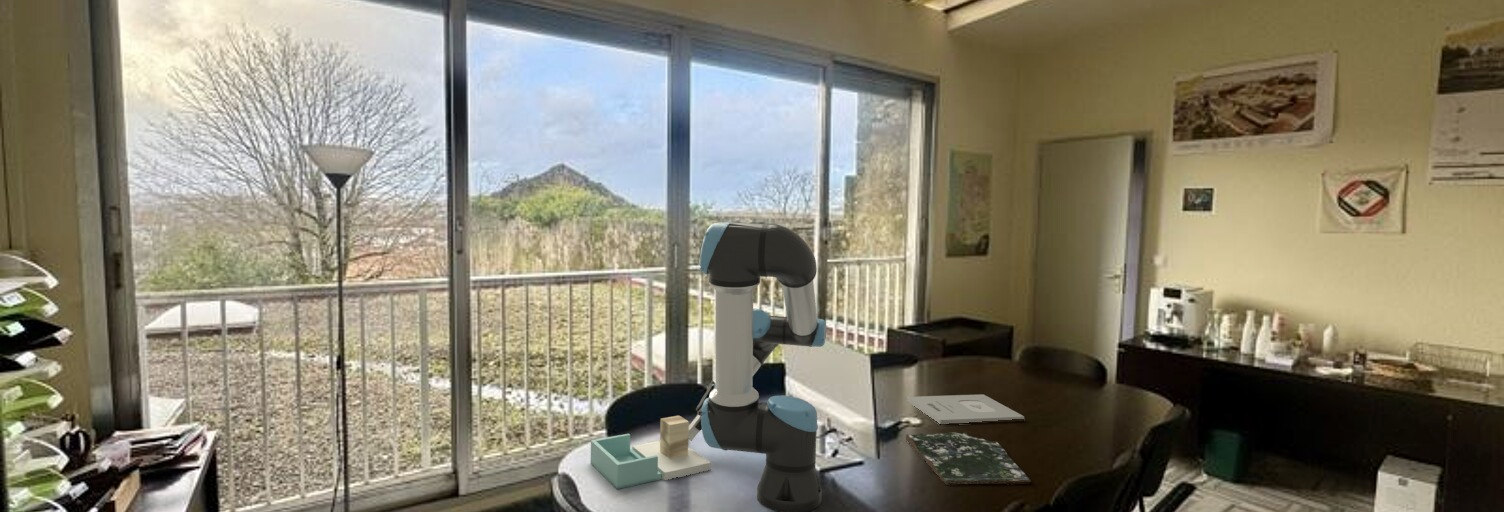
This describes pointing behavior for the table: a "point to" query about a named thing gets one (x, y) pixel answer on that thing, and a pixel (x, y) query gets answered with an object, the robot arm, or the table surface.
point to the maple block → (674, 436)
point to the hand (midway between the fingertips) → (687, 437)
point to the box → (622, 462)
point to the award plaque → (963, 408)
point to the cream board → (673, 461)
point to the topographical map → (966, 459)
